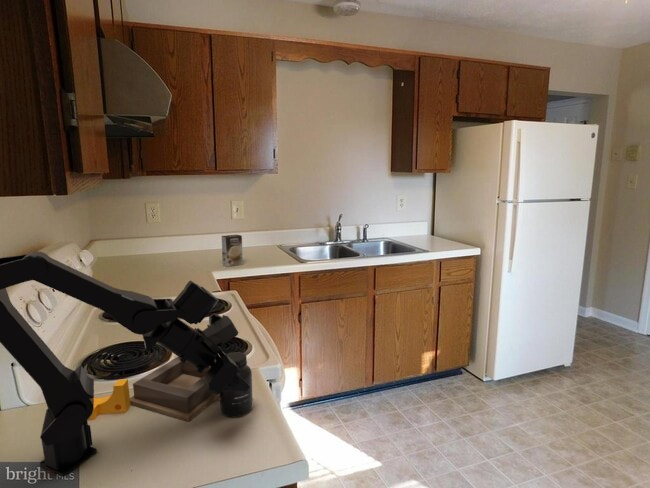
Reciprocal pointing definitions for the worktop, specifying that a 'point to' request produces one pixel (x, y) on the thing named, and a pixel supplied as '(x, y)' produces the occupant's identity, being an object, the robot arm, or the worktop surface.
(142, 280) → the worktop surface
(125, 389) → the orange notched part
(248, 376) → the supplement bottle
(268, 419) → the worktop surface
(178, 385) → the grey-brown square frame
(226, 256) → the coffee box
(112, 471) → the worktop surface
